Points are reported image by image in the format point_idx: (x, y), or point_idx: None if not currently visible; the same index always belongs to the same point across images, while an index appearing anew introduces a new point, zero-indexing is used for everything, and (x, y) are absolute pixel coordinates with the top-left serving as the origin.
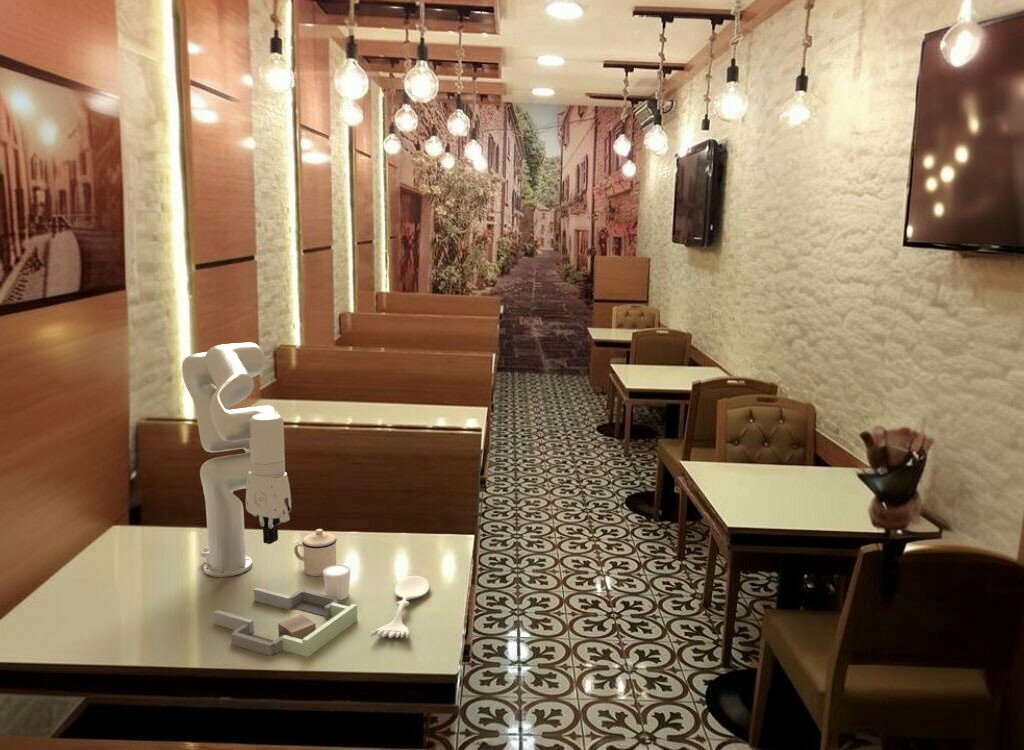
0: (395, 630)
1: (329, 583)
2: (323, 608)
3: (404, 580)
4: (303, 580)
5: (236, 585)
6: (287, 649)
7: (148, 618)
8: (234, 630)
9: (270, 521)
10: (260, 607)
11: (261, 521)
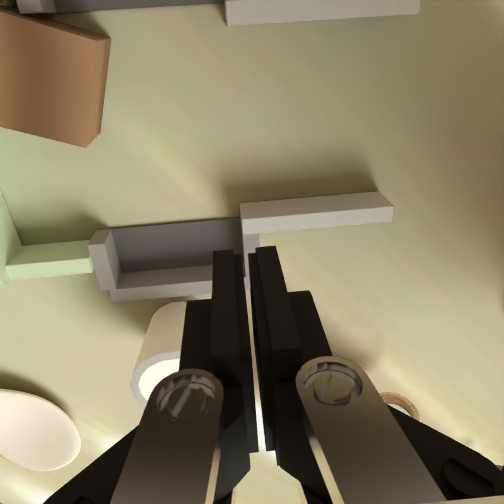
0: None
1: (171, 334)
2: (151, 258)
3: (70, 444)
4: (327, 337)
5: (490, 229)
6: None
7: None
8: None
9: (164, 467)
10: (330, 169)
11: (356, 415)
